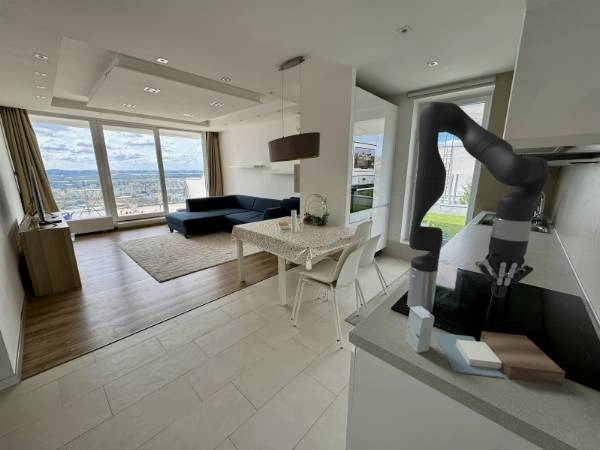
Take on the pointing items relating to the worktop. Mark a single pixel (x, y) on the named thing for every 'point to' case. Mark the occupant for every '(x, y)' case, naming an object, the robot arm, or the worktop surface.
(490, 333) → the stand
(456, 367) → the mat
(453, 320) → the worktop surface
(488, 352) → the coaster
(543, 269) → the worktop surface
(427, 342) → the skincare box
